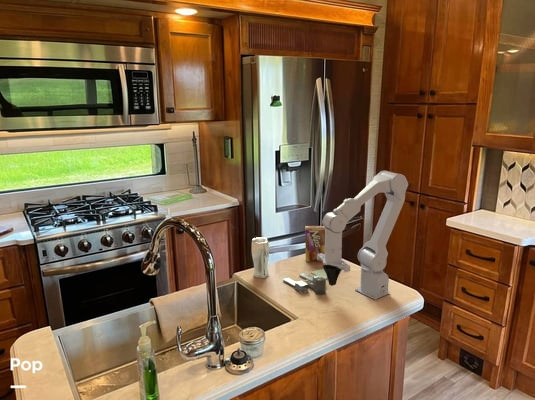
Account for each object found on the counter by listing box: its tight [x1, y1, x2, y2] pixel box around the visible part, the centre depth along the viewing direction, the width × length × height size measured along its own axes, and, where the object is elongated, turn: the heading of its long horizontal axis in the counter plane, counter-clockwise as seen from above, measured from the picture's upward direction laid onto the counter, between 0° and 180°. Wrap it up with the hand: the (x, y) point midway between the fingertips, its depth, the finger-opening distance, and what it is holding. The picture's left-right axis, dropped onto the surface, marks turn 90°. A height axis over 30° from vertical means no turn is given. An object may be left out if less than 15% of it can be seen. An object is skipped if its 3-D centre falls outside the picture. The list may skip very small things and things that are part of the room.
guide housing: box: [282, 272, 324, 294], centre depth 154 cm, size 12×11×3 cm
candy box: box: [304, 225, 325, 263], centre depth 175 cm, size 9×4×15 cm, turn 85°
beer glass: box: [251, 237, 270, 279], centre depth 161 cm, size 7×7×15 cm
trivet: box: [310, 268, 328, 280], centre depth 162 cm, size 8×7×1 cm
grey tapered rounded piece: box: [304, 277, 327, 296], centre depth 149 cm, size 10×4×5 cm, turn 34°
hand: (332, 284), depth 140 cm, fingers closed
